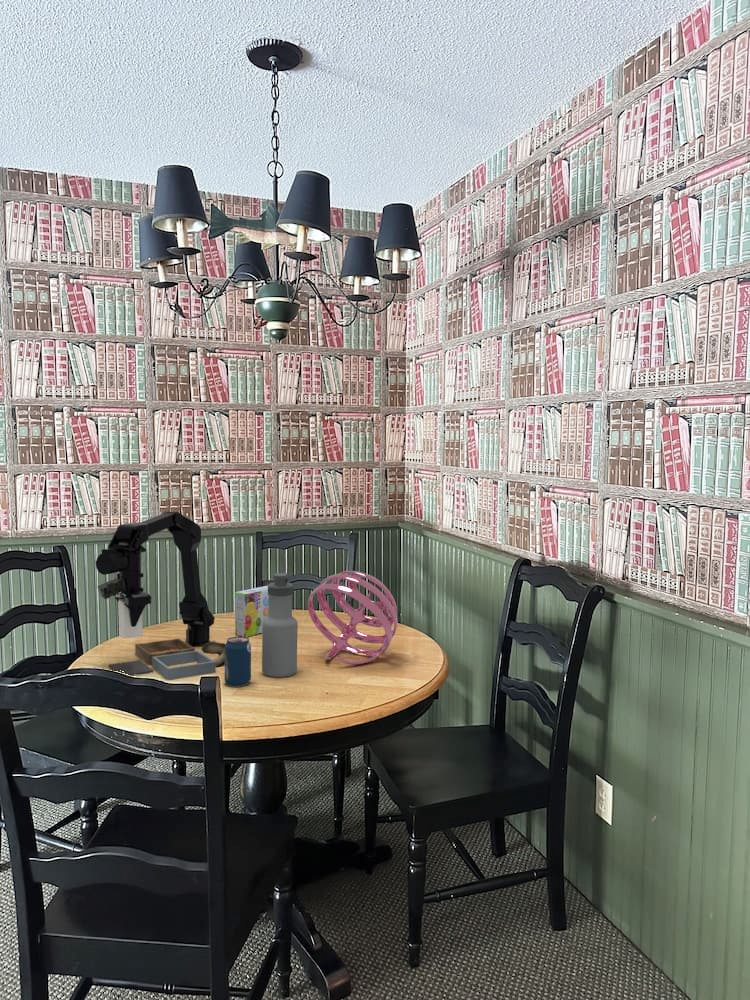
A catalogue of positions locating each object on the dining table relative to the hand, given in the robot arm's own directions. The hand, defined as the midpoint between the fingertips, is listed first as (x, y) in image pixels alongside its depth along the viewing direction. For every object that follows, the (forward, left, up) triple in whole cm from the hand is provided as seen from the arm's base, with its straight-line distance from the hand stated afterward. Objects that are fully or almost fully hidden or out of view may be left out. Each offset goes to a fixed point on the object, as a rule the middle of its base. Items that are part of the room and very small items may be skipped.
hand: (130, 624), depth 205 cm
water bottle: (-34, +24, -13) cm, 44 cm away
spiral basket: (-60, +23, -13) cm, 66 cm away
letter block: (0, 0, -3) cm, 3 cm away
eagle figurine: (-24, +7, -13) cm, 28 cm away
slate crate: (-12, +8, -13) cm, 19 cm away
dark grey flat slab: (0, 0, -13) cm, 13 cm away
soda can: (-20, +27, -13) cm, 36 cm away
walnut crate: (-12, -8, -13) cm, 20 cm away
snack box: (-51, -22, -13) cm, 57 cm away
